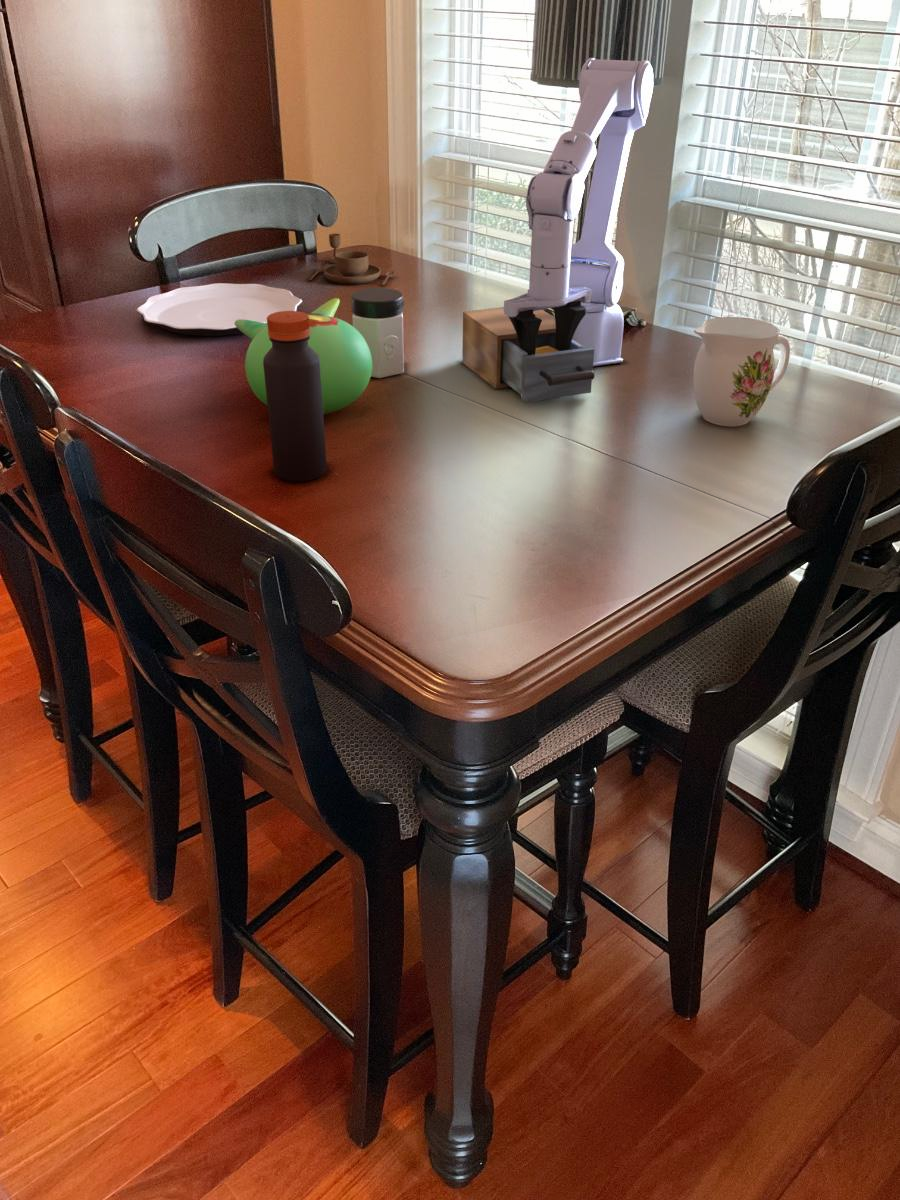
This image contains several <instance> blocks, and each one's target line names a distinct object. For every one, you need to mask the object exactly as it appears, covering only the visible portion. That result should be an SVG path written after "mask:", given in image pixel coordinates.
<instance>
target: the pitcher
mask: <svg viewBox="0 0 900 1200" xmlns="http://www.w3.org/2000/svg"><path fill="white" fill-rule="evenodd" d="M693 332H694V333H695V334H696V335H697V336H699V337H700V338H702V344H701V345H700V347H699V349H698V352H697V354H696V357H695V361H694V367H693V374H692V375H693V377H692V383H693V384H692V385H693V393H694V394H693V395H694V398H695V403H696V406H697V409H698V410H699V413H700V414H701V416H702V418H703V420H705V421H707V422H709V423H710V424H714V425H718V426H723V427H740V426H744V425H746V424H748V423H750V421H751V420H752V419H754V418H755V416H756V415H757V414H758V413H759V411H760V410H761V409H762V407H763V405H764V404H765V402H766V400H767V398H768V396H769V393H770V391H772V390H773V389H775V387H776V386H777V385H778V384H779V383H780V381H781V380H782V378H783V377H784V375H785V373H786V371H787V369H788V365H789V362H790V356H791V347H790V343H789V340H788V338H787V337H786V336H784V335H782V334H780V329H779V328H778V326H776V325H775V324H773V323H770V322H768V321H764V320H762V319H757V318H750V317H742V316H721V317H720V316H719V317H714V318H709V319H706V320H704V321H703V322H702V325H698V326H696V327H694V328H693ZM776 345H778V346H779V350H780V353H779V360H778V363H777V366H776V362H775V361H776V359H775V352H774V349H775V346H776Z"/></svg>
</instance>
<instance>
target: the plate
mask: <svg viewBox="0 0 900 1200" xmlns="http://www.w3.org/2000/svg"><path fill="white" fill-rule="evenodd" d="M302 303H303V299H301V298H299V297H298V296H295V295H293V293H292V291H290V290H289V289H286V288H279V287H274V286H273V287H272V286H267V285H264V284H260V283H225V282H224V283H223V282H220V283H218V282H217V283H210V284H204V285H197V286H184V287H183V286H182V287H179V288H175V289H173V290H169V291H168V292H164V293H160V294H155V295H152V296H150V297H148V298H147V299H146V301H145V303H143V304H142V305H140V306H139V307H137V308H136V312H137V313H138V314H139V315H141V316H142V317H143V320H144V322H146V323H148V324H150V325H154V326H156V327H160V328H162V329H163V330H167V331H169V332H172V333H175V334H181V335H187V336H198V337H199V336H200V337H219V336H220V337H222V336H223V337H225V336H235V335H242V334H244V333H243V332H241V331H240V330H239V329H238V328H237V327H236V326H235V324H234V323H235V321H236V320H239V319H245V320H251V321H256V322H261V323H265V324H267V317H268V316H269V315H270V314H273V313H276V312H281V311H298V307H299V306H301V304H302Z"/></svg>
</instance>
